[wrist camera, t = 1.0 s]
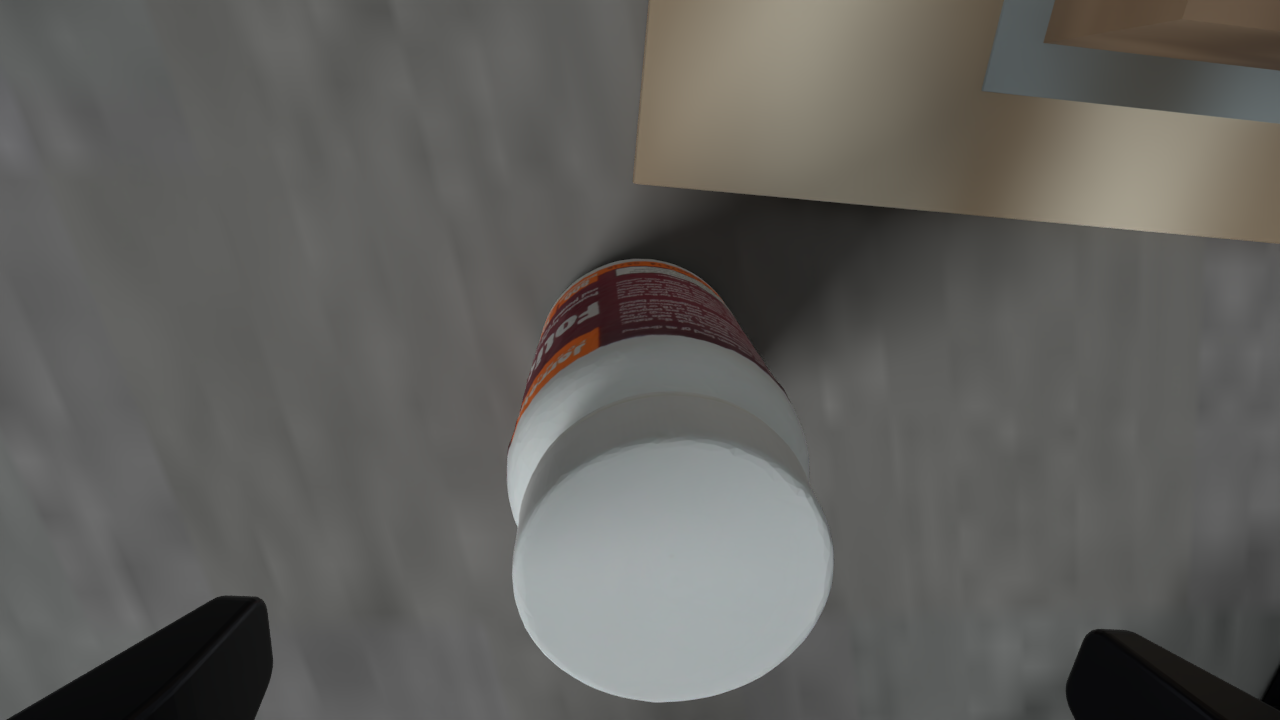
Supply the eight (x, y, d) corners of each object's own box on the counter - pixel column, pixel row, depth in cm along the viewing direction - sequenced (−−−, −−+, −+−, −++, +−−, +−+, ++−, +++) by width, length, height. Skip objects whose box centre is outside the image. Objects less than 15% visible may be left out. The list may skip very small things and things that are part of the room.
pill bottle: (561, 233, 15) (516, 363, 7) (761, 281, 15) (928, 450, 8) (521, 421, 16) (449, 702, 8) (705, 458, 17) (796, 750, 9)
